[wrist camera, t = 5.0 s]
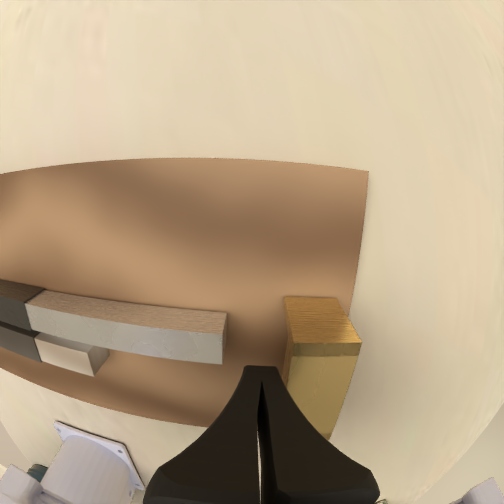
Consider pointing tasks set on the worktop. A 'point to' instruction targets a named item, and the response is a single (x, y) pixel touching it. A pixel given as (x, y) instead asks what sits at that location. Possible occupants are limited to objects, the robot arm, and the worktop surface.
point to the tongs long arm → (117, 323)
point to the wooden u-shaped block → (319, 358)
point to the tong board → (175, 266)
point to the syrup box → (381, 502)
